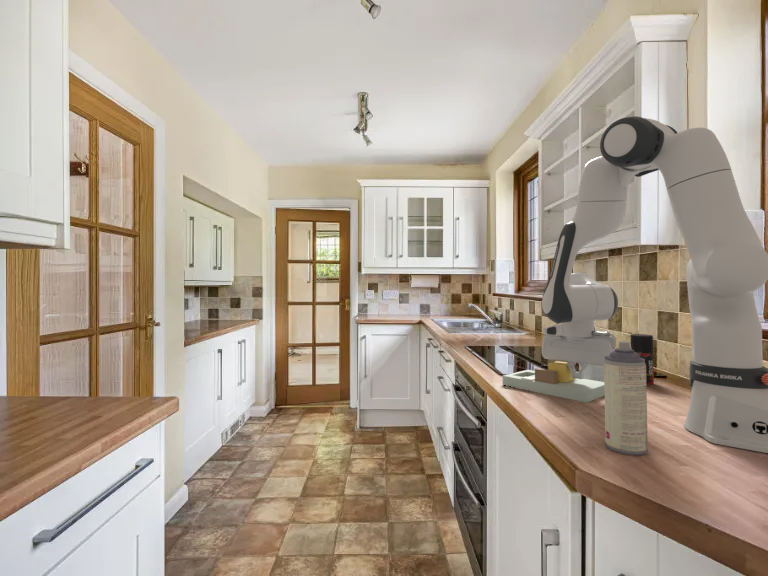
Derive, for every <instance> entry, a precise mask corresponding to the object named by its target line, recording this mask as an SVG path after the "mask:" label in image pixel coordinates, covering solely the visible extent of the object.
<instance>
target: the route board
mask: <svg viewBox="0 0 768 576" xmlns="http://www.w3.org/2000/svg"><path fill="white" fill-rule="evenodd" d="M574 367H575V368H576V365H574ZM504 385H507V386H506V387H509V386H511V387H510V388H513V387H516V388H515V389H518V388H520V389H519V390H523V389H525V390H524V391H528V390H529V391H528V392H533V393H537V394H542V393H543V394H544V395H548V396H551V397H552V396H553V397H557V398H562V399H568V400H573V401H578V402H582V403H587V404H588V403H589V402H591V401H592V402H593V401H594V400H597V399H600V398H602V397H605V388H604V382H601V381H594V380H588V379H576V378H574V380H573V381H569V382H566V383H563V382H558V371H554V370H548V368H547V369H546V368H539V367H538V368H534V370H531V369H525V370H521V371H517V372H514V373H507V374H505V375H502V386H504Z"/></svg>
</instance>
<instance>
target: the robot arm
mask: <svg viewBox="0 0 768 576" xmlns="http://www.w3.org/2000/svg"><path fill="white" fill-rule="evenodd" d="M599 150H600V153H601V156H597V157H595V158H593V159H590V160H589V161H588V162H587V163H586V164H585V166H584V167H583V170H582V173H581V176H580V181H579V187H578V192H577V200H576V201H577V203H576V208H575V212H574V214H573V216H572V218H571V220H570V221H569V222H567V223H566V224H564V225H563V227H562V229H561V231H560V234H559V237H558V240H557V245H556V248H555V252H554V256H553V261H552V265H551V269H550V273H549V277H548V281H547V284H546V287H545V289H544V292H543V295H542V298H541V309H542V312H543V314H544V315H545V317H547V319H549V320H551V321H552V322H553V323H555V324H554V325H549V326H546V327H544V328H543V334H544V336H543V338H542V341H541V342H542V343H541V355H542V358H544V359H545V360H551V361H552V360H553V361H558V362H567V366H568V368H569V369H570V371H571V377H572V378H576V379H584V372H585V371H586V369H587V368H588V365H596V366H603V367H604V361H605V357H606V356H609V355H610V353H611V352H612V351H615V349H617V338H616V337H615V335H614V334H612V333H611V332H608V331H598V330H597V331H596V330H595V322H597V321H607V320H609V319H612V318H613V317H614V316H615V314H616V312H617V311H618V309H619V308H618V307H619V299H618V294H617V293H616V292H615V290H614V289H613V288H612V287H611V286H609V285H605V284H603V283H600V282H598V281H596V280H594V279H593V276H592V275H591V274H590V273H588V272H574V273H572V272H573V269H574V266H575V265H574V264H575V261H576V257H577V255H578V253H579V251H580V250H581V249H582V248H584V247H585V246H587V245H589V244H591V243H593V242H596V241H598V240H601V239H604V238H606V237H608V236H611V234H613V233H614V232H616V231H617V230H618V229H619V228H620V227H621V226H622V224H623V223H624V220H625V217H626V212H627V200H628V199H627V197H628V189H629V188H628V187H629V184H630V182H631V180H632V178H633V177H637V178H639V177H644V176H645V175H648V174H650V173H654V172H657V171H660V173H661V174H662V177H663V180H664V184H665V187H666V191H667V196H668V199H669V202H670V205H671V208H672V213H673V216H674V219H675V222H676V226H677V228H678V230H679V232H680V234H681V236H682V238H683V242H684V244H685V246H686V249H687V251H688V255H689V257H690V259H689V261H688V263H687V265H686V284H687V297H688V298H687V299H688V304H689V305H688V306H689V315H690V321H691V352H692V353H691V356H692V357H691V359H692V360H691V361H689V367H688V370H689V371H688V373H689V375H688V377H689V385H690V388H691V392H690V393H691V394H690V401H689V402H690V403H689V407H688V411H687V415H686V419H685V421H684V423H683V426H684V428H685V429H686V430H687V431H690V432H691V433H693V434H696V435H697V436H701V437H702V438H703V439H705V440H706V441H707V442H709V443H712V444H716V445H721V446H727V447H732V448H737V449H743V450H749V451H754V452H759V453H764V454H768V368H767V367H765V366H764V365H763V363H764V361H763V326H762V323H761V322H760V319H759V314H758V310H757V305H756V301H755V294H754V293H755V292H756V291H758V290H759V289H760V288H762V287H763V285H765V284H766V283H767V281H768V252H767V251H766V250H765V249H764V246H763V244H762V242H761V239H760V237H759V236H758V233H757V232H756V229H755V227H754V226H753V223H752V222H751V220H750V218H749V216H748V214H747V212H746V211H745V208H744V205H743V203H742V199H741V197H740V192H739V190H738V186H737V183H736V180H735V177H734V174H733V169H732V167H731V165H730V164H731V163H730V162H729V159H728V157H727V154H726V152H725V150H724V148H723V146H722V144H721V142H720V140H719V139H718V138H717V136H716V134H715V132H713V131H712V130H711V129H709V128H706V127H693V128H687V129H684V130H682V131H679V132H678V131H677V130H675V129H674V127H672V126H669V125H667V124H664V123H662V122H660V121H659V120H655V119H652V118H646V117H641V116H633V115H632V116H627V117H623V118H619V119H617V120H615V121H614V122H612V123H610V124H609V126H608V127H607V128H605V130H604V132H603V133H602V135H601V139H600V143H599ZM579 363H580V367H582V368H581V370H580V371H579V370H578V371H577V370H576V364H579ZM574 366H575V367H574Z"/></svg>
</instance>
